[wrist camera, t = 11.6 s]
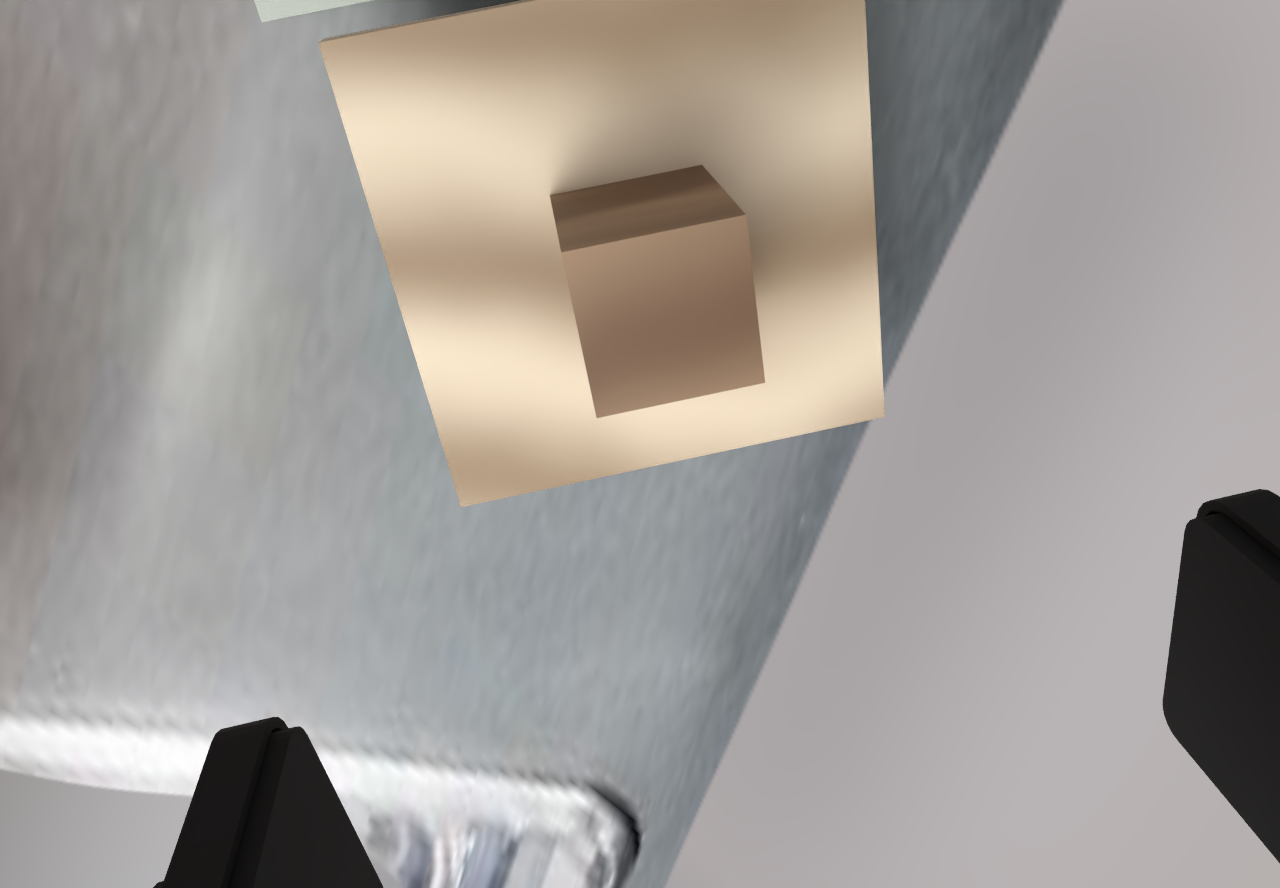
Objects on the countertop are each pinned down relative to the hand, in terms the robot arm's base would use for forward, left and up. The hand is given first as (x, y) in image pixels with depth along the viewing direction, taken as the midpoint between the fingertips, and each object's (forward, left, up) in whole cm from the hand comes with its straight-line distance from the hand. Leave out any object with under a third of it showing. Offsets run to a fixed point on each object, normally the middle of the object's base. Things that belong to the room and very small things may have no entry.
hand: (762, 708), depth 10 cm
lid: (+1, +1, -18) cm, 18 cm away
